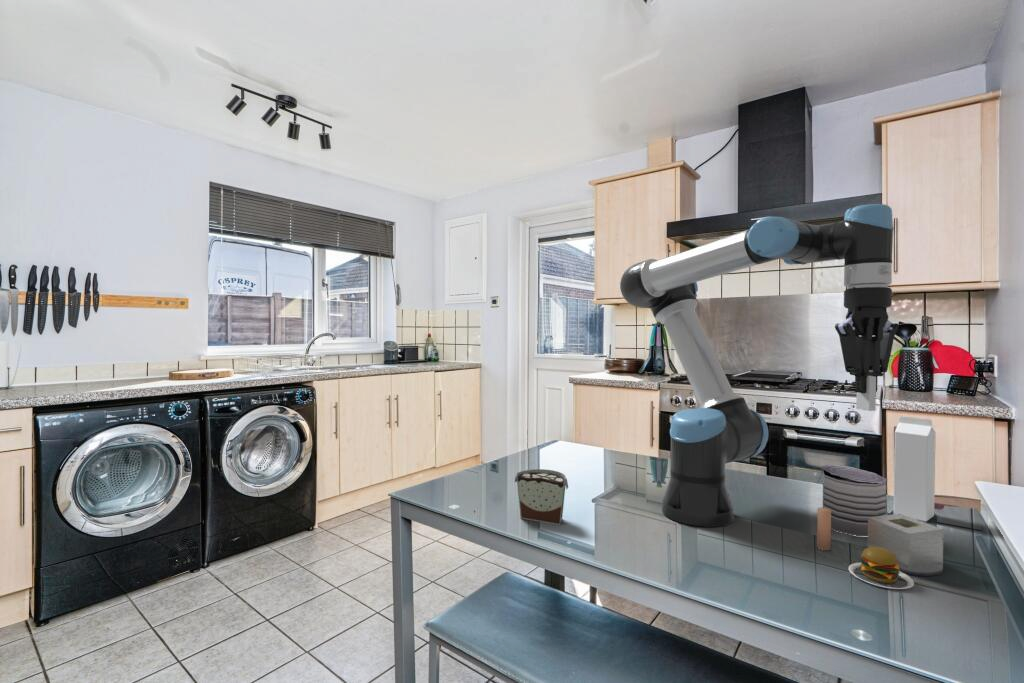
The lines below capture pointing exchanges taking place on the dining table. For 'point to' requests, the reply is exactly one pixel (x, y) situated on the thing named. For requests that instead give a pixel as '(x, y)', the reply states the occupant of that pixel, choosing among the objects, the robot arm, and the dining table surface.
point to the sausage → (824, 529)
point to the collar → (907, 539)
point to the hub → (922, 569)
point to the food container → (541, 495)
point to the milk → (914, 468)
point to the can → (853, 498)
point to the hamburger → (880, 567)
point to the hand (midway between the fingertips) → (865, 409)
